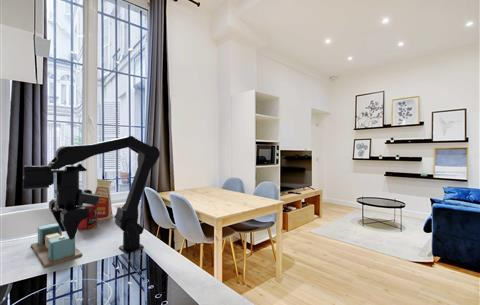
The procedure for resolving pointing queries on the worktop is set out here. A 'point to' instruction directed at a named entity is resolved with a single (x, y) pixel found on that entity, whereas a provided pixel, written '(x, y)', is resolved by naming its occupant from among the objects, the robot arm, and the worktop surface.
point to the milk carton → (103, 199)
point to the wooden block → (51, 237)
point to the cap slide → (60, 247)
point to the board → (43, 255)
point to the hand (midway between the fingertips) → (68, 235)
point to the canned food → (89, 218)
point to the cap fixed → (47, 231)
